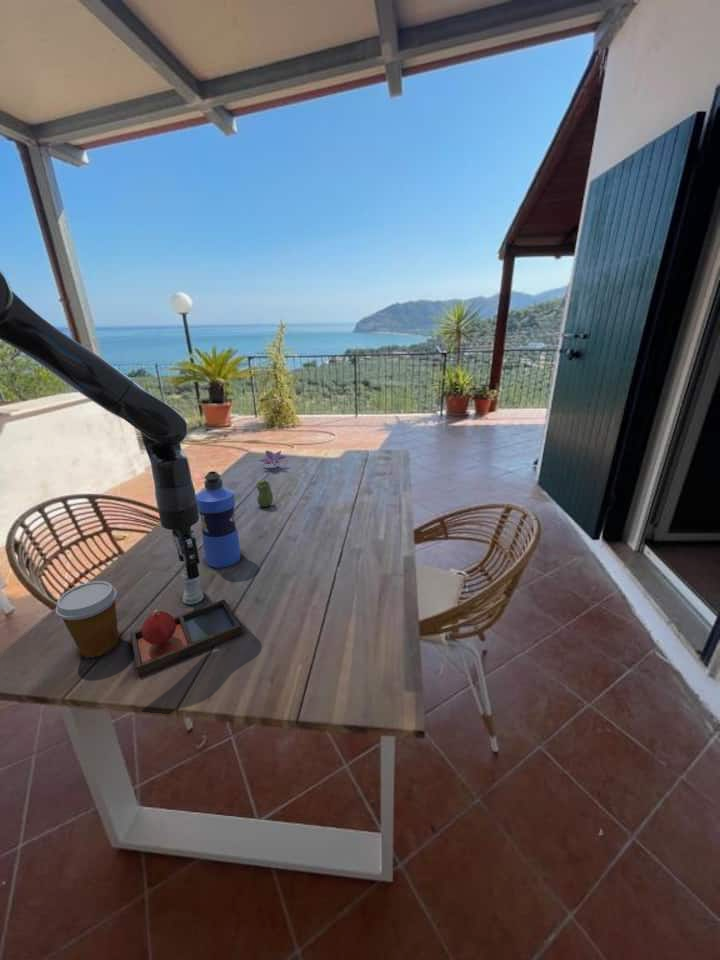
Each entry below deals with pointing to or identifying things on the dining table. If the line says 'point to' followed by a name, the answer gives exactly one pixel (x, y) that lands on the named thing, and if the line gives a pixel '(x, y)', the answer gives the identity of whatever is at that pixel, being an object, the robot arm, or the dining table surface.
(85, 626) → the disposable coffee cup
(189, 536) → the robot arm
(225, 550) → the water bottle
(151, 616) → the pomegranate
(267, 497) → the pear
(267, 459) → the lily
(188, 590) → the rook chess piece
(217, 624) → the tray
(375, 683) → the dining table surface
